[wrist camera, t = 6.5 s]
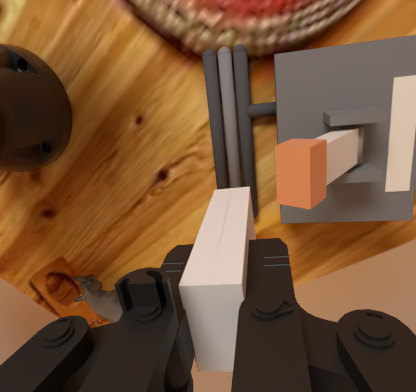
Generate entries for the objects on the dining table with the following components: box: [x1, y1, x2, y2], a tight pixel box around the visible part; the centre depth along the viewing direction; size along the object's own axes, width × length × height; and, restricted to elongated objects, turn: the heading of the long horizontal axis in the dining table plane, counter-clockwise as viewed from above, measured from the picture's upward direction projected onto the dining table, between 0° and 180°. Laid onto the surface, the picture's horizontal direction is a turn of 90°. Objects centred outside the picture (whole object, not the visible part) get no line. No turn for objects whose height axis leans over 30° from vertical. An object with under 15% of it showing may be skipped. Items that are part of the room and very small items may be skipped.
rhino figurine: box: [72, 275, 123, 323], centre depth 44 cm, size 4×14×6 cm, turn 58°
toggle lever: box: [275, 125, 364, 210], centre depth 24 cm, size 2×4×11 cm
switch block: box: [274, 35, 416, 223], centre depth 29 cm, size 12×16×10 cm
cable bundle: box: [203, 45, 276, 218], centre depth 35 cm, size 8×19×1 cm, turn 6°
